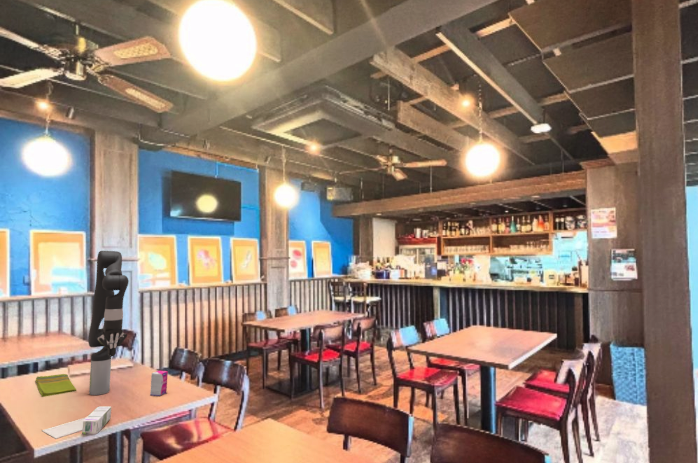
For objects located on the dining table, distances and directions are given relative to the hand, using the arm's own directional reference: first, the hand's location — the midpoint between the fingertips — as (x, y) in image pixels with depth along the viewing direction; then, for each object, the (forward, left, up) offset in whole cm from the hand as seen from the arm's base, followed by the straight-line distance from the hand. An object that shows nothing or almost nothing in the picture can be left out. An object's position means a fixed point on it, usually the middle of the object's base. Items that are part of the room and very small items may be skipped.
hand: (111, 356), depth 187 cm
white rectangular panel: (+4, -16, -26) cm, 31 cm away
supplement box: (-6, +28, -26) cm, 39 cm away
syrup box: (+7, -5, -22) cm, 24 cm away
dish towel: (-66, +4, -27) cm, 71 cm away
